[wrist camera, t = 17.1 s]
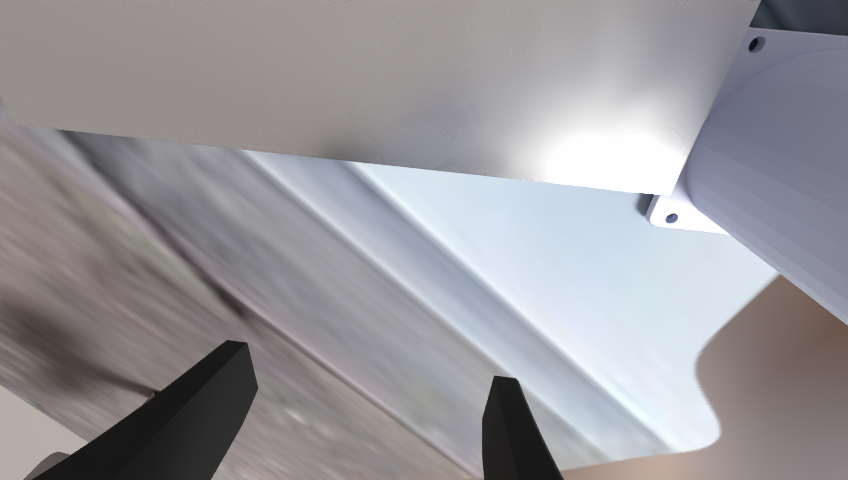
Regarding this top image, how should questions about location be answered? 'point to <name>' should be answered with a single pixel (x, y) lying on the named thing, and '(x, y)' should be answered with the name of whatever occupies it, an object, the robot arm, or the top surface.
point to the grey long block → (387, 79)
